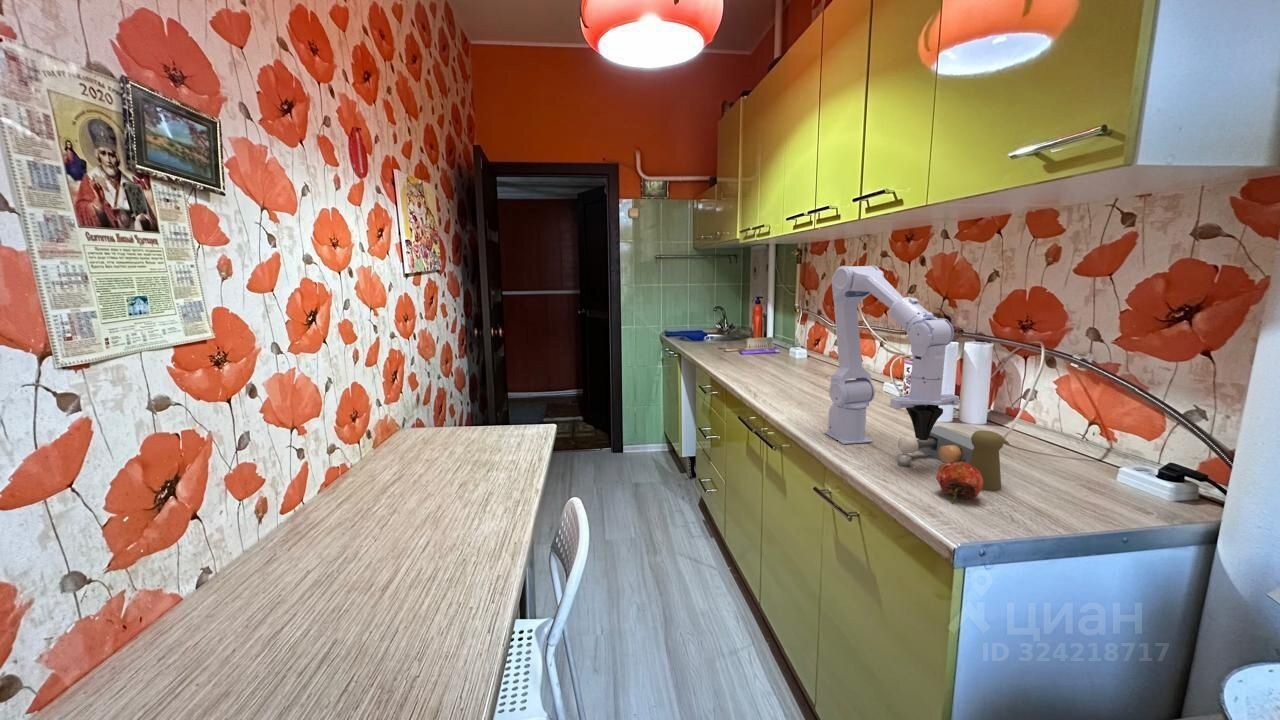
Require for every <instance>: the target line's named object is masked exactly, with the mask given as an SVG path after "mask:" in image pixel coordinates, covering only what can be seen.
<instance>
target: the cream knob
mask: <svg viewBox="0 0 1280 720" xmlns="http://www.w3.org/2000/svg"><path fill="white" fill-rule="evenodd" d="M937 443H938V439H937V438H932V439H928V440H924V441H922V440H919V439H917V438H916V437H915V436H912V435H911V436H901V437H899V438H898V440H897V446H898V450H899V451H900V452H901V454H908V453H910V454H911V453H912V454H913V453H916V452H917V451H919V450H918V448H930V447H937Z"/></svg>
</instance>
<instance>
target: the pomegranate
mask: <svg viewBox="0 0 1280 720" xmlns="http://www.w3.org/2000/svg"><path fill="white" fill-rule="evenodd" d="M936 481H937V483H938V484H939V486H940V488H941V489H940V490H942V492H944V493H945V494H947V495H951V496H953V497H952V501H951V505H953V504H954V502H955V499H956V498H957V496H960V497H962V498H965V499H975V498H976V497H977V496H978V495H979V494H980V492H981V491H983V490H982V488H983V478H982V475H981V473H980V472H979V470H978V469H976V468H975V467H973V466H971V465H970V464H968V463H966V462H965V460H962V462H949V463H945V462H943V464H941V465H940V466H939V467H938V470H937V472H936Z"/></svg>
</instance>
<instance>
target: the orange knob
mask: <svg viewBox="0 0 1280 720" xmlns="http://www.w3.org/2000/svg"><path fill="white" fill-rule="evenodd" d="M939 456H940V458H941V460H942V461H941V460H940V461H941V462H943V463H949V462H959V461H960V460H961V458H962V449H961V448H959V447H958V446H956V445H948V446H941V447H940V449H939Z"/></svg>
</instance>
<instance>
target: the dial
mask: <svg viewBox="0 0 1280 720" xmlns="http://www.w3.org/2000/svg"><path fill="white" fill-rule="evenodd" d="M897 456H898V457H897V459H898V460H897V465H898V466H899V465H900V467H902V466H903V468H910V467H912V459H913V457H912V455H911V454H908V453H899V454H898V455H897Z"/></svg>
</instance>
